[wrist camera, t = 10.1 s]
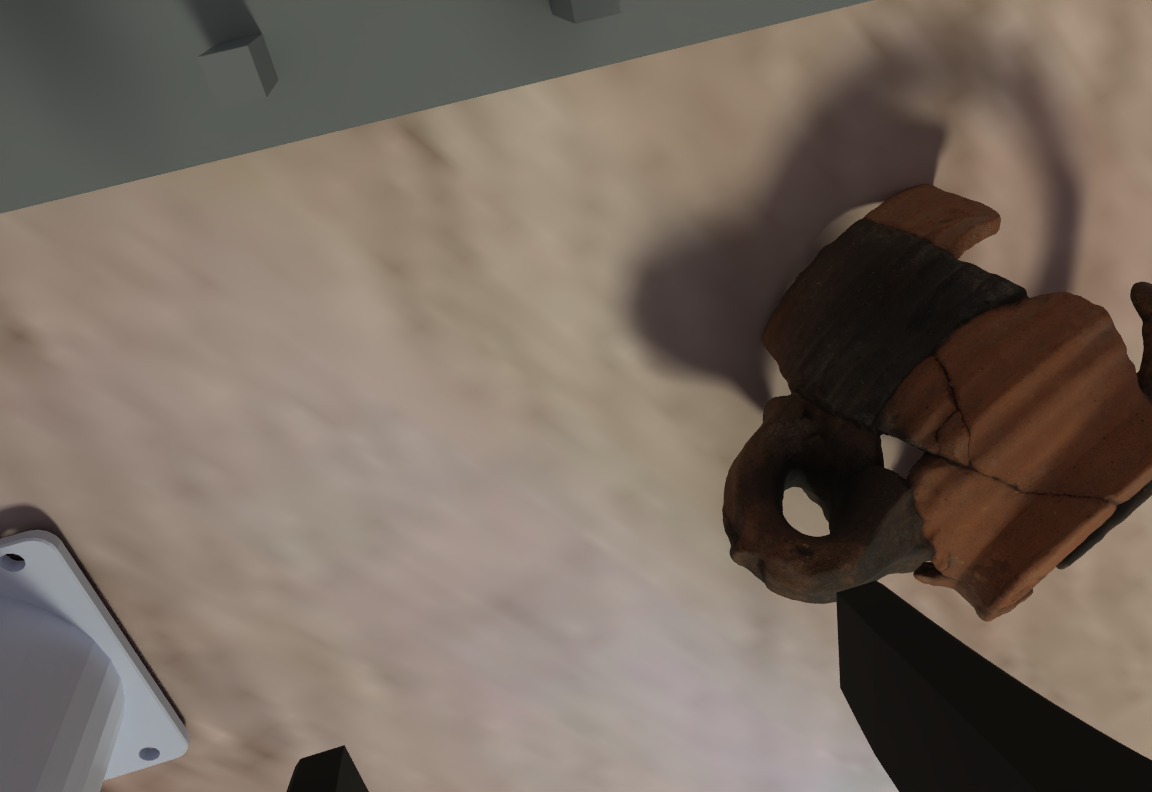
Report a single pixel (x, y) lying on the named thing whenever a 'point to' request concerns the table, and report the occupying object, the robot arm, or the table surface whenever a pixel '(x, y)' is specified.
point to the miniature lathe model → (291, 71)
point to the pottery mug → (939, 417)
